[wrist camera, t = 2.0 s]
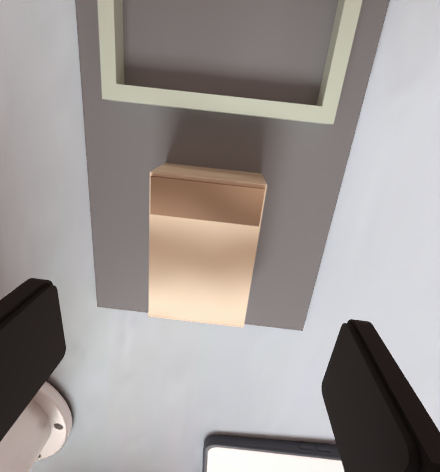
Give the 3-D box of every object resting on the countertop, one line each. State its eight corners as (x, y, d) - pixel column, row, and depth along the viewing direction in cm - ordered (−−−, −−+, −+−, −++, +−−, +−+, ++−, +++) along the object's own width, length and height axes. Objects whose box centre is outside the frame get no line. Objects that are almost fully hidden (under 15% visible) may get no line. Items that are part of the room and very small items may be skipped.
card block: (242, 295, 21) (243, 329, 17) (162, 286, 21) (147, 318, 17) (261, 173, 18) (267, 185, 14) (165, 162, 18) (148, 172, 14)
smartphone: (203, 479, 32) (348, 496, 31) (201, 497, 30) (354, 515, 29) (205, 425, 28) (368, 442, 27) (203, 442, 27) (375, 461, 26)
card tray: (378, -104, 13) (391, -126, 12) (326, 124, 16) (333, 124, 15) (102, -132, 13) (89, -156, 12) (111, 100, 16) (102, 98, 15)
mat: (300, 325, 22) (302, 330, 22) (100, 302, 22) (97, 306, 22) (421, -141, 13) (430, -154, 12) (69, -177, 13) (61, -190, 12)
